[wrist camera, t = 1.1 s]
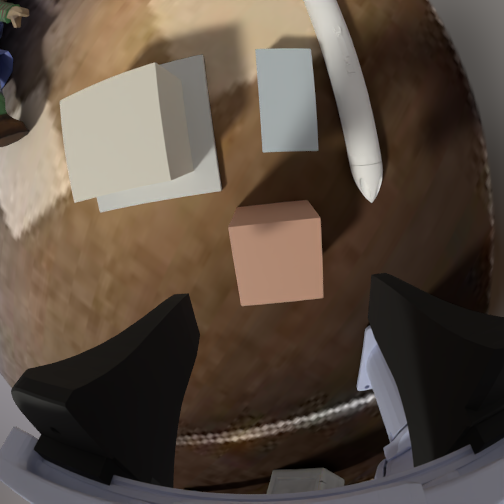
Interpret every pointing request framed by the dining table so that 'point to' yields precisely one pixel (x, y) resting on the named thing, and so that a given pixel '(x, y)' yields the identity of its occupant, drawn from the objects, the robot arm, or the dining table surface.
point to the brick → (287, 99)
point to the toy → (4, 126)
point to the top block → (277, 252)
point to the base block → (126, 133)
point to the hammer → (302, 480)
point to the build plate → (199, 137)
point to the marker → (349, 95)
